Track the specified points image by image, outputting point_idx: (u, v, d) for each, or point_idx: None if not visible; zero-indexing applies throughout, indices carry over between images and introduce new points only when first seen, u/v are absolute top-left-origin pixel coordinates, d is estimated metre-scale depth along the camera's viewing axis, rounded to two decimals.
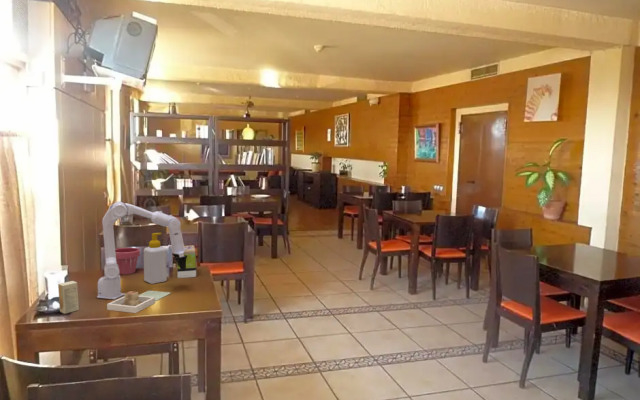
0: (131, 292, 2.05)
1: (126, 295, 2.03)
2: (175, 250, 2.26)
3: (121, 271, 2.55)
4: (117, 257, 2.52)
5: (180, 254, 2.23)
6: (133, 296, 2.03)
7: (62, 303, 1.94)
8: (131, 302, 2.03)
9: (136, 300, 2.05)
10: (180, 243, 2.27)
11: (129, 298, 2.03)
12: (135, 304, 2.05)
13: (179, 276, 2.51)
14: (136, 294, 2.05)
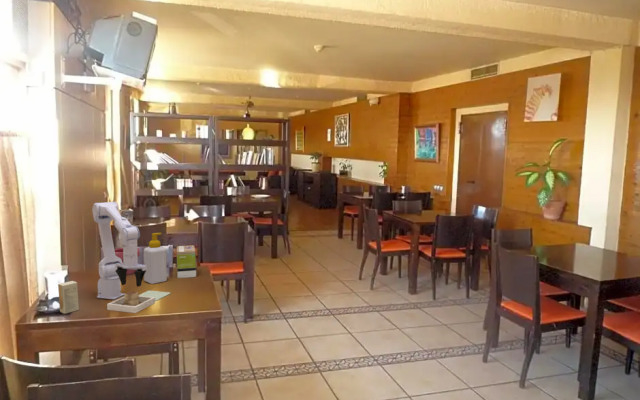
0: (131, 292, 2.05)
1: (126, 295, 2.03)
2: None
3: None
4: None
5: None
6: (133, 296, 2.03)
7: (62, 303, 1.94)
8: (131, 302, 2.03)
9: (136, 300, 2.05)
10: None
11: (129, 298, 2.03)
12: (135, 304, 2.05)
13: (179, 276, 2.51)
14: (136, 294, 2.05)
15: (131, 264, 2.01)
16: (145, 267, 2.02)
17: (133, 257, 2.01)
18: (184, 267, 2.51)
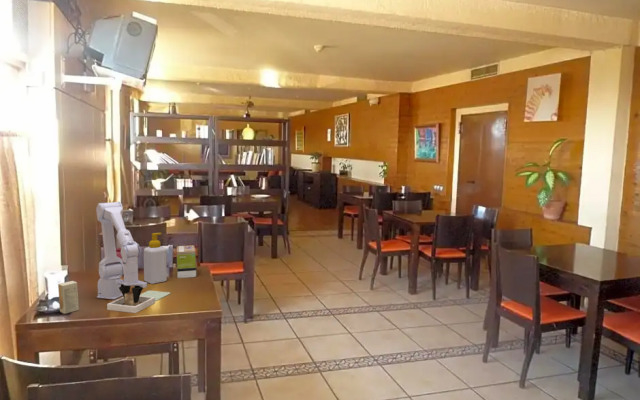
0: (131, 292, 2.05)
1: (126, 295, 2.03)
2: None
3: None
4: None
5: None
6: (133, 296, 2.03)
7: (62, 303, 1.94)
8: (131, 302, 2.03)
9: None
10: None
11: (129, 298, 2.03)
12: (135, 304, 2.05)
13: (179, 276, 2.51)
14: None
15: (131, 281, 2.02)
16: (145, 284, 2.03)
17: (133, 274, 2.02)
18: (184, 267, 2.51)
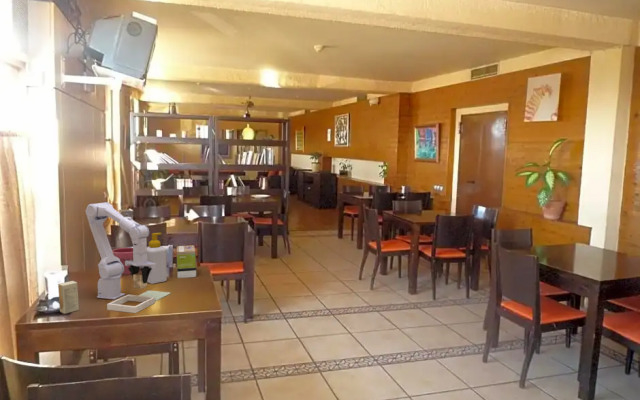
0: (140, 273, 2.10)
1: (135, 276, 2.09)
2: None
3: None
4: None
5: None
6: (141, 277, 2.08)
7: (62, 303, 1.94)
8: (139, 283, 2.08)
9: None
10: None
11: (138, 279, 2.08)
12: (143, 285, 2.10)
13: (179, 276, 2.51)
14: None
15: (140, 262, 2.07)
16: (154, 265, 2.08)
17: (142, 255, 2.08)
18: (184, 267, 2.51)
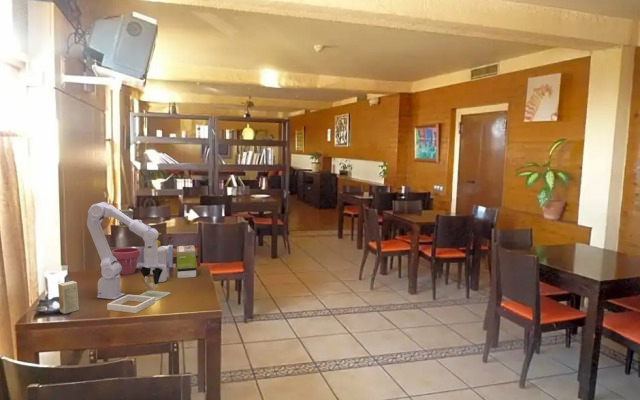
0: (151, 275, 2.18)
1: (146, 278, 2.17)
2: None
3: (121, 271, 2.55)
4: (117, 257, 2.52)
5: None
6: (153, 279, 2.16)
7: (62, 303, 1.94)
8: (151, 284, 2.17)
9: None
10: None
11: (149, 280, 2.17)
12: (155, 286, 2.18)
13: (179, 276, 2.51)
14: None
15: (152, 264, 2.16)
16: (165, 266, 2.17)
17: (154, 257, 2.16)
18: (184, 267, 2.51)
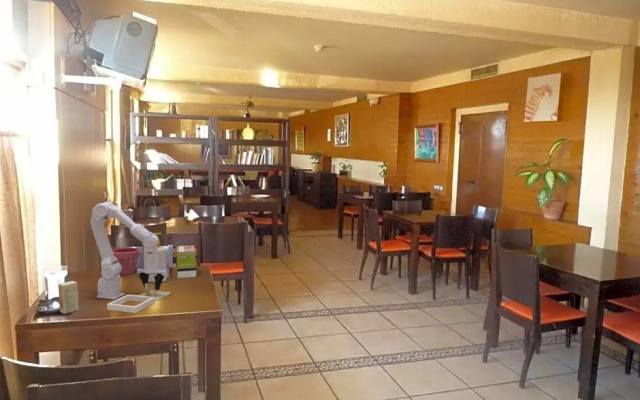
0: (151, 282, 2.19)
1: (146, 285, 2.17)
2: None
3: (121, 271, 2.55)
4: (117, 257, 2.52)
5: None
6: (153, 286, 2.17)
7: (62, 303, 1.94)
8: (151, 291, 2.17)
9: (155, 290, 2.19)
10: None
11: (149, 288, 2.17)
12: (155, 293, 2.19)
13: (179, 276, 2.51)
14: (155, 284, 2.19)
15: (152, 270, 2.16)
16: (165, 272, 2.17)
17: (154, 263, 2.16)
18: (184, 267, 2.51)
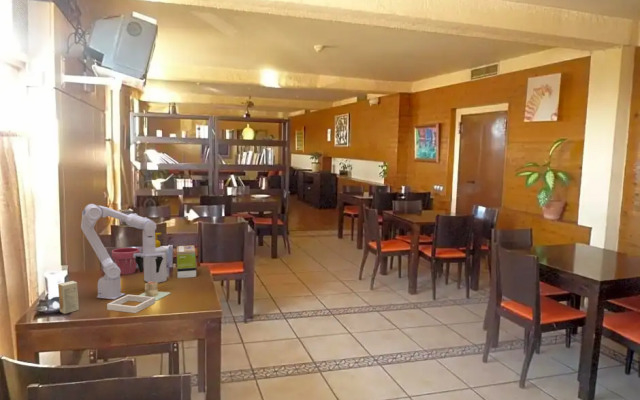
0: (151, 282, 2.19)
1: (146, 285, 2.17)
2: None
3: (121, 271, 2.55)
4: (117, 257, 2.52)
5: None
6: (153, 286, 2.17)
7: (62, 303, 1.94)
8: (151, 291, 2.17)
9: (155, 290, 2.19)
10: None
11: (149, 288, 2.17)
12: (155, 293, 2.19)
13: (179, 276, 2.51)
14: (155, 284, 2.19)
15: (151, 253, 2.23)
16: (164, 254, 2.26)
17: (153, 246, 2.24)
18: (184, 267, 2.51)
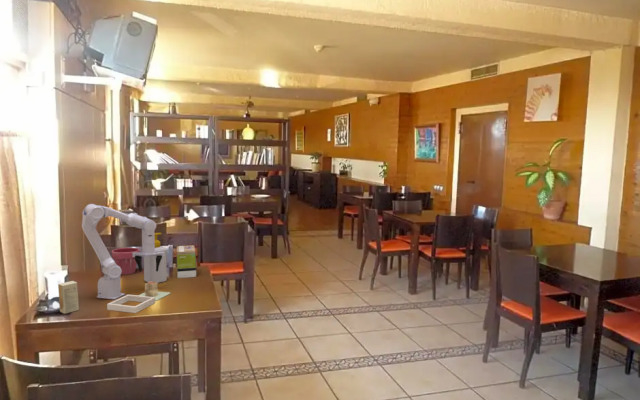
0: (151, 282, 2.19)
1: (146, 285, 2.17)
2: None
3: None
4: (117, 257, 2.52)
5: None
6: (153, 286, 2.17)
7: (62, 303, 1.94)
8: (151, 291, 2.17)
9: (155, 290, 2.19)
10: (142, 245, 2.25)
11: (149, 288, 2.17)
12: (155, 293, 2.19)
13: (179, 276, 2.51)
14: (155, 284, 2.19)
15: (151, 252, 2.26)
16: (164, 253, 2.29)
17: (153, 245, 2.26)
18: (184, 267, 2.51)
